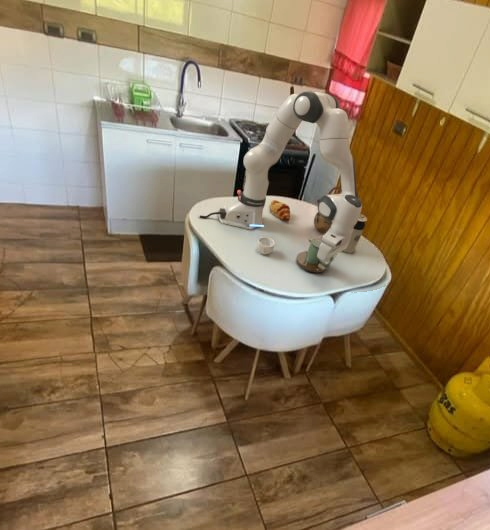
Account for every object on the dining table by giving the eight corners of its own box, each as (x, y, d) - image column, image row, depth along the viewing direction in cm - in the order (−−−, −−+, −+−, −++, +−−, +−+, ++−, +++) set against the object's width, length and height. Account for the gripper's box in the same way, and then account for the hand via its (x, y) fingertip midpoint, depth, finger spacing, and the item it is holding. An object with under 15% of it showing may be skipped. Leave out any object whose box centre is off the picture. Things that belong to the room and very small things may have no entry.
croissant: (266, 209, 212) (262, 198, 207) (282, 202, 213) (279, 190, 207) (281, 228, 196) (278, 217, 191) (298, 220, 197) (296, 208, 192)
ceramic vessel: (331, 226, 203) (348, 183, 188) (339, 235, 196) (356, 191, 181) (304, 225, 198) (318, 181, 183) (310, 234, 191) (326, 189, 176)
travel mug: (335, 244, 187) (347, 212, 177) (348, 243, 190) (361, 212, 180) (343, 253, 182) (356, 221, 171) (356, 253, 184) (371, 221, 174)
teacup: (274, 257, 168) (276, 247, 165) (257, 256, 166) (260, 246, 163) (268, 244, 176) (271, 234, 173) (252, 243, 174) (255, 233, 171)
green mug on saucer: (289, 258, 167) (296, 239, 161) (309, 250, 176) (315, 231, 170) (316, 277, 159) (324, 258, 153) (335, 268, 168) (343, 249, 162)
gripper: (345, 224, 161) (334, 250, 169) (320, 237, 148) (309, 265, 156) (358, 231, 158) (346, 257, 166) (333, 245, 145) (322, 273, 153)
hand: (328, 261), depth 161 cm, fingers closed on green mug on saucer, 2 cm apart
